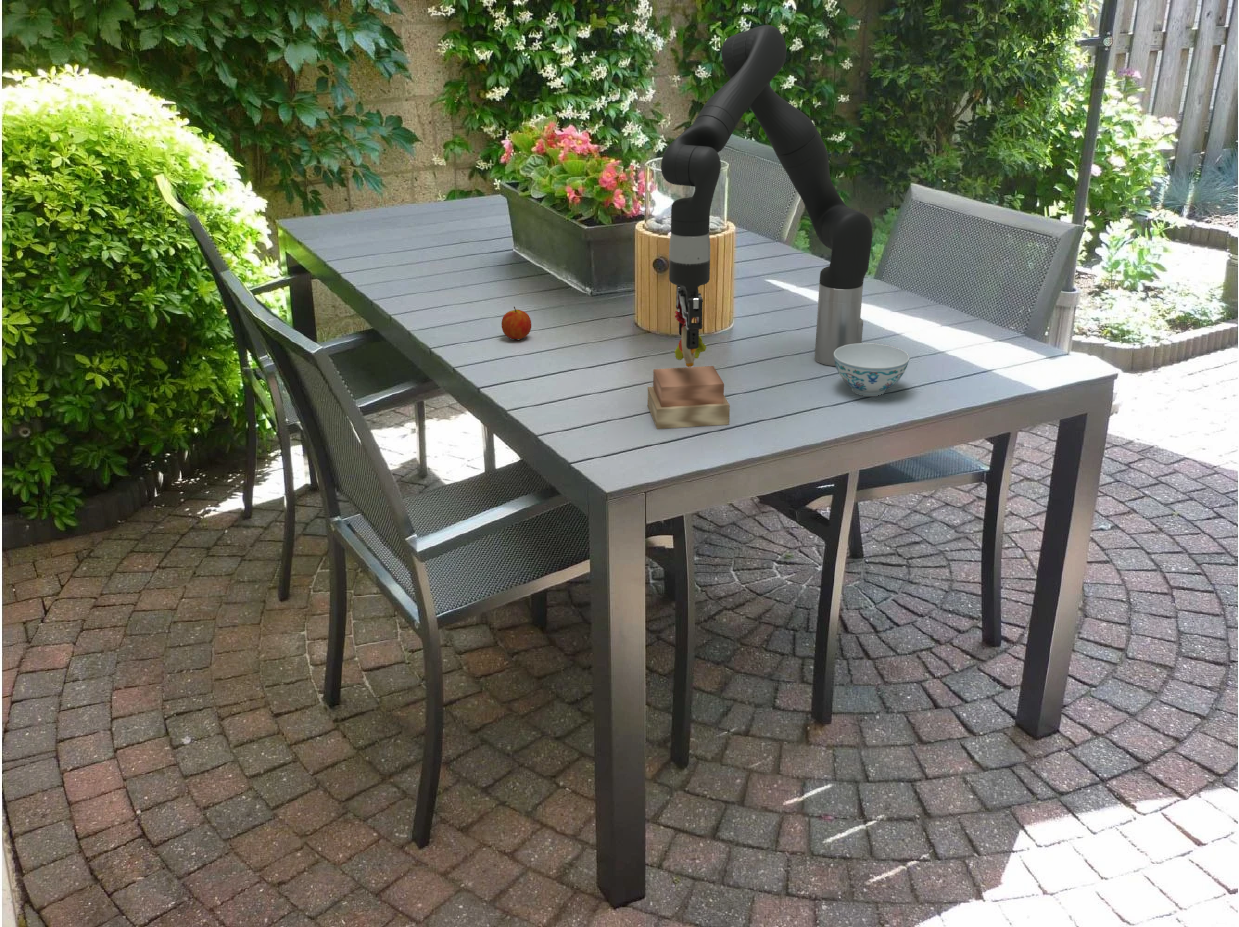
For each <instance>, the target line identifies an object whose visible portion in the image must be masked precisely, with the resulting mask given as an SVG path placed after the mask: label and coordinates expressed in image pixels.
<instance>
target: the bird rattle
mask: <svg viewBox="0 0 1239 927" xmlns="http://www.w3.org/2000/svg"><path fill="white" fill-rule="evenodd" d="M674 314H675V315H674V318H675V320H676V321H677V322H678V323H679V322H680V323H682V324H683V326H682V328H681V332H682V335H680V336H681V339H680V340H679V341H678V345H676V348H675V350H674V357H675V358H676V360H679V361H681V360H684V364H685V365H686V367H694V364H695V360H696V359H699V358H700V354H701V353H703V352H706V350H707V345H706V344H705V343H703V338H702V336H701V335H699V347H698V348H697V349H688V348H687V347H686V331H687V329H686V320H685V319H684V318H683V316H682V314H681V313H679V312H678V310H675V312H674ZM693 319H694V318H692V320H693Z"/></svg>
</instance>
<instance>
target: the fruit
mask: <svg viewBox="0 0 1239 927" xmlns="http://www.w3.org/2000/svg"><path fill="white" fill-rule="evenodd" d="M513 309H514V310H509V311H507V312H505V314H504V315H503V316H502V318H501V329H502V332H503V334H504V335H505V336H506V337H507V338H509V339H510V338H511V339H510V340H512V339H521V340H523V339H524V338H526V337H527V336H528V335H529V334H530V332H531V331H532V330H531V329H532V319H531V316H530V315H529V314H528V313H527V312H526V311H524V310H521V309H518V308H516V307H515V306H513ZM522 338H523V339H522Z"/></svg>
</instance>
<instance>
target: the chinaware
mask: <svg viewBox="0 0 1239 927" xmlns="http://www.w3.org/2000/svg"><path fill="white" fill-rule="evenodd" d="M834 361H835V365H836V366H835V368H836V370H837V373H838V374H839V376H840V378H841V379H842V380H843V382H845V383H846V385H848V386H849V387H851V391H852V392H853V393H854V392H855V393H854V394H857V395H858V394H859V395H860V396H862V395H863V397H877V396H878V395H879V396H882V395H884V394H885V393H884V392H886V390H887V389H889V388H891V387H892V386H894V385H895V384H896V383H898V382H899V380H900V379H901V378H902V377H903V376H904V374H905V372H906V370H907V368H908V365H909V363H910V355H909V354H908V352H907V351H905V350H903V349H901V348H898V347H896V346H892V345H888V344H882V343H873V342H862V343H856V344H849V345H844V346H841V347H839V348H837V349H836V350H835V351H834ZM881 394H882V395H881ZM859 395H858V396H859Z"/></svg>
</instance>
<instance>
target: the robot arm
mask: <svg viewBox="0 0 1239 927" xmlns="http://www.w3.org/2000/svg"><path fill="white" fill-rule="evenodd" d="M787 53H788V52H787V44H786V41H785V38H784V35H783V34H782V33H781V31H780V30H779V29H778V28H777V27H776V26H774V25H769V24H764V25H759V26H756V27H753V28H750V29H747V30H743V31H741V32H739V33H736V34H733V35H731V36H729V37H728V38H725V40H724V41H723V44H722V46H721V59H722V64H723V67H724V69H725V72H726V73H727V76H728V77H729V80H728V81H727V82H726V83H725V84H723V86H722V87H720V88H719V89H718V90H717V91H716V92H715V93H714V94H713V95H712V96H711V97H709V99H708V100H707V101H706V103H705V104H704V105H703V107H702V108H701V110H700V111H699V113H698V115H697V116H696V118H695V119H694V122H693V123H692V125H691V126H689V127H687V128H686V129H685V130H684V131H683V132H682V133H681V134H680V135H678V136H677V137H676V138H675V139H674V140H673V141H672V142H671V143H670V144H669V145H668V146H667V148H666V149H665V151H664V153H663V155H662V157H661V158H662V159H661V162H660V163H661V164H660V169H661V170H660V171H661V175H662V176H663V178H664V180H665V181H666V182H667V183H669V184H670V185H676V186H685V187H694V193H693V195H692V196H690V197H683V198H682V197H681V198H679V199H675V200H674V201H673V202H672V204H671V207H670V238H669V245H668V246H669V250H668V252H669V254H668V258H669V259H668V260H669V261H668V263H669V264H668V270H669V271H668V275H669V276H668V277H669V278H668V280H669V282H670V283H671V284H673V285H675V286H676V287H675V288H676V291H675V292H676V293H675V294H676V296H675V297H676V299H675V300H676V302H675V309H676V311H678V312H679V313H681V314H682V316H683V318H684V319H685V320H686V329H687V331H686V347H687V348H688V349H697V348H698V347H699V336H700V330H702V329H703V306H704V305H703V303H704V299H703V297H702V293H701V292H700V291H699V287H700V286H705V285H706V284H708V283H709V282H710V278H711V277H710V276H711V275H710V274H711V272H710V270H711V239H710V237H711V236H710V219H711V218H710V217H711V215H710V212H711V207H712V202H713V198H714V194H715V190H716V187H717V184H718V183H719V182H718V181H719V178H720V176H721V169H722V162H721V157H720V155H719V153H720V152H721V151H722V150H723V149H724V148H725V146H726V145H727V143H728V142H729V139H730V138H731V136H732V135H733V133H734V132H735V129H736V127H737V126H738V124H739V122H740V121H741V119H742V118H743V116H744V114H745V113H746V112H747V111H748V109H750V110H751V112H752V113H753V114H754V116H755V118H756V120H757V122H758V123H759V125H760V126H761V128H762V130H763V132H764V134H765V135H766V137H767V139H768V141H769V143H770V145H771V146H772V149H773V151H774V153H775V155H776V158H778V160H779V162H780V164H781V166H782V168H783V170H784V171H785V173H786V174H787V176H788V178H789V180H790V181H791V183H792V185H793V187H794V189H795V191H796V193H798V195H799V197H800V198H801V200H802V203H803V204H804V206H805V209H806V211H807V214H808V216H809V219H810V222H811V224H812V226H813V228H814V231H815V234H816V236H817V238H818V240H819V241H820V243H821V244H823V245H824V246H825V247H826V248H827V249H830V250H831V252H830V253H831V255H830V261H829V262H830V263H829V266H825V267H823V268H822V269H821V270H820V273H819V285H818V299H817V312H816V313H817V314H816V316H817V317H816V328H815V329H816V332H815V344H814V345H815V348H814V360H815V361H816V362H817V363H819V364H823V365H826V366H832V367H833V366H834V367H836V365H835V361H834V351H835V350H836V349H837V348H839V347H841V346H844V345H849V344H856V343H863V331H864V330H863V329H864V320H863V319H862V318H861V316H862V315H861V314H862V303H863V289H864V280H865V276H866V275H867V272H868V270H869V266H870V258H871V251H872V245H873V244H872V242H873V226H872V222H871V220H870V217H869V216H868V215H867V214H865V213H863V212H862V211H859V210H856V209H854V208H852V207H849V206H848V205H847V204H845V202H844V201H843V199H842V198H841V196H840V195H839V192H838V191H837V189H836V188H835V186H834V184H833V181H832V178H831V173H830V161H829V154H828V150H827V148H826V146H825V143H824V141H823V139H822V137H821V134H820V133H819V131H818V130H817V127H816V125H815V124H814V122H813V121H812V120H811V118H810V117H808V116H807V115H806V114H805V113H804V112H802V111H801V110H799V109H798V108H797V107H796V106H794V105H792V104H791V103H790V102H788V101H786V100H785V99H784V98H783V97H781V96H779V94H777V93H776V92H775V91H774V89H773V88H772V87H771V85H770V84H769V83H770V82H771V81H772V80H773V79H774V78H775V77H776V76H777V74H779V72H780V71H781V69H782V68H783V67H784V64H785V61H786V58H787ZM692 318H693V319H695V322H692V321H693V319H692ZM682 326H683V324H682V323H680V322H678V333H679V335H680V336H681V335H682V332H681V328H682Z"/></svg>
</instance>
